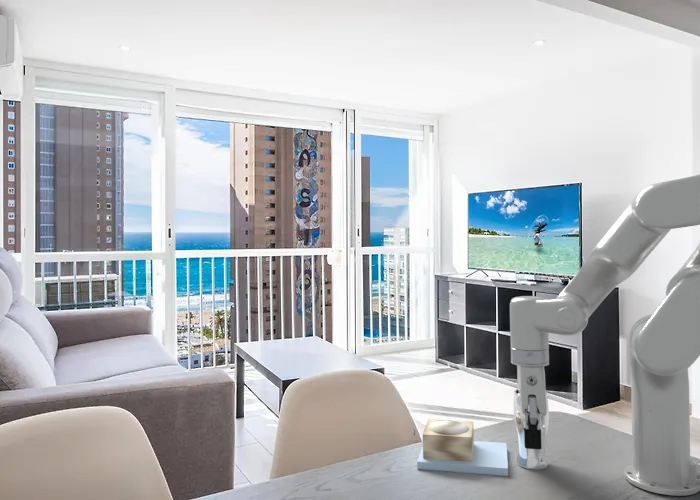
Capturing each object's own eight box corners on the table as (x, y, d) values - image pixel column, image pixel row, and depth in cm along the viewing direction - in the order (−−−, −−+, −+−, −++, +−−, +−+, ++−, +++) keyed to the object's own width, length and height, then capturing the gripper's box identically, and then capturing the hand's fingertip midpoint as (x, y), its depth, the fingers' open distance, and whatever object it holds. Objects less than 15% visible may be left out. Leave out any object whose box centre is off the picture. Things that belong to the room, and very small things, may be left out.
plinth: (473, 444, 120) (473, 420, 120) (472, 461, 110) (471, 436, 110) (428, 441, 123) (428, 418, 123) (423, 458, 113) (422, 433, 113)
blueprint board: (506, 449, 120) (506, 442, 120) (508, 476, 107) (508, 468, 107) (425, 444, 125) (425, 437, 125) (417, 468, 111) (417, 461, 111)
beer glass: (552, 471, 108) (551, 397, 108) (516, 469, 110) (514, 396, 109) (547, 458, 115) (545, 388, 115) (513, 456, 116) (511, 387, 116)
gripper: (553, 366, 103) (555, 459, 103) (544, 348, 119) (546, 428, 120) (512, 364, 105) (514, 456, 105) (509, 347, 121) (511, 426, 122)
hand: (531, 440), depth 112 cm, fingers open, 7 cm apart
